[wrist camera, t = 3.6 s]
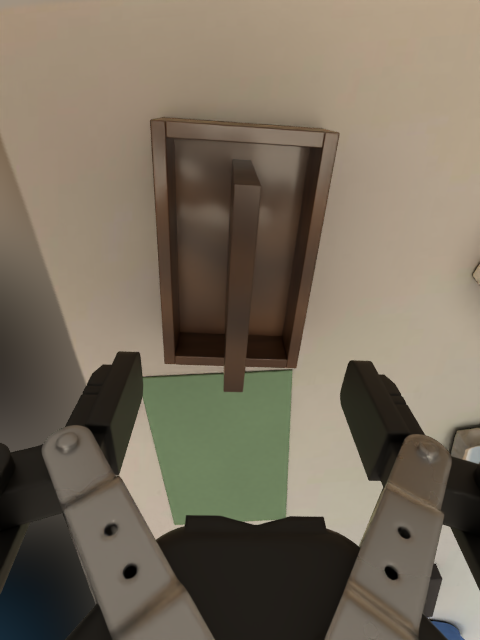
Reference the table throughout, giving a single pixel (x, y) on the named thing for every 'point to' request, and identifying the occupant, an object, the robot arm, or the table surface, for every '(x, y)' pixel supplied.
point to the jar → (477, 274)
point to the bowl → (448, 630)
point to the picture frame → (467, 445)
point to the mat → (222, 443)
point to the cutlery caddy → (237, 239)
